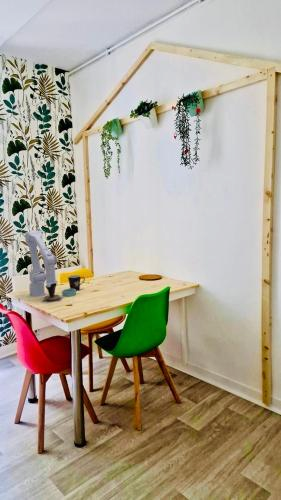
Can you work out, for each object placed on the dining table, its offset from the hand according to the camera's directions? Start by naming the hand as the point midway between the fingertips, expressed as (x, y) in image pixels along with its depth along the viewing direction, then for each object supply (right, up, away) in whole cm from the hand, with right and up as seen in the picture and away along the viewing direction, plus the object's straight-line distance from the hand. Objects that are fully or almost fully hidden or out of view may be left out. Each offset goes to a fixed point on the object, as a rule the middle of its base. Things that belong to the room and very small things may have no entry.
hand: (52, 295), depth 215 cm
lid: (0, -2, 0) cm, 2 cm away
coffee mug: (+11, 0, +25) cm, 28 cm away
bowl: (+9, -2, +10) cm, 14 cm away
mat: (0, -3, 0) cm, 3 cm away
